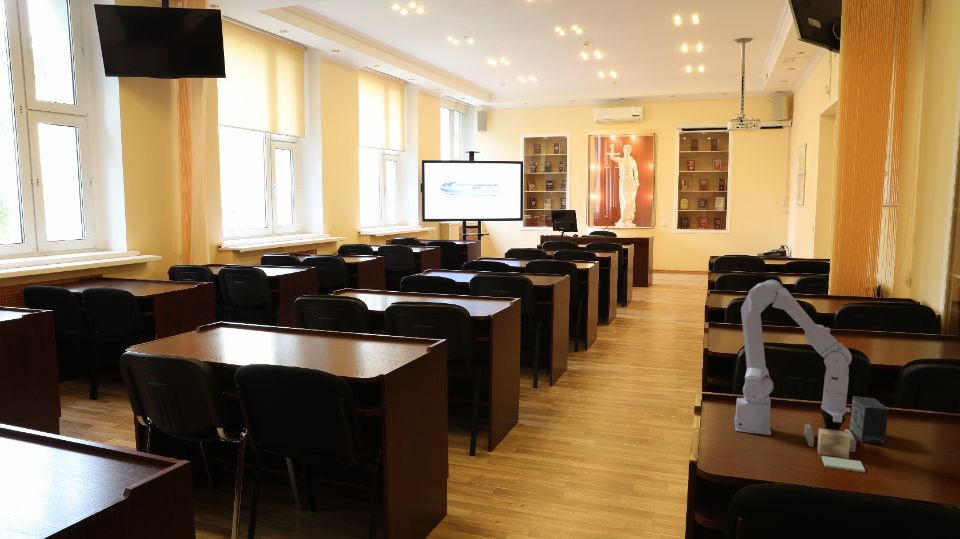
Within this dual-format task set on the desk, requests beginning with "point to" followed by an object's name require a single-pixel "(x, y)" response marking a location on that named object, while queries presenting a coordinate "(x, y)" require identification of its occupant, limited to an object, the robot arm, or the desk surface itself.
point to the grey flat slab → (810, 438)
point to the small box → (868, 420)
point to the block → (833, 443)
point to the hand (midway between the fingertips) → (830, 439)
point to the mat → (843, 464)
